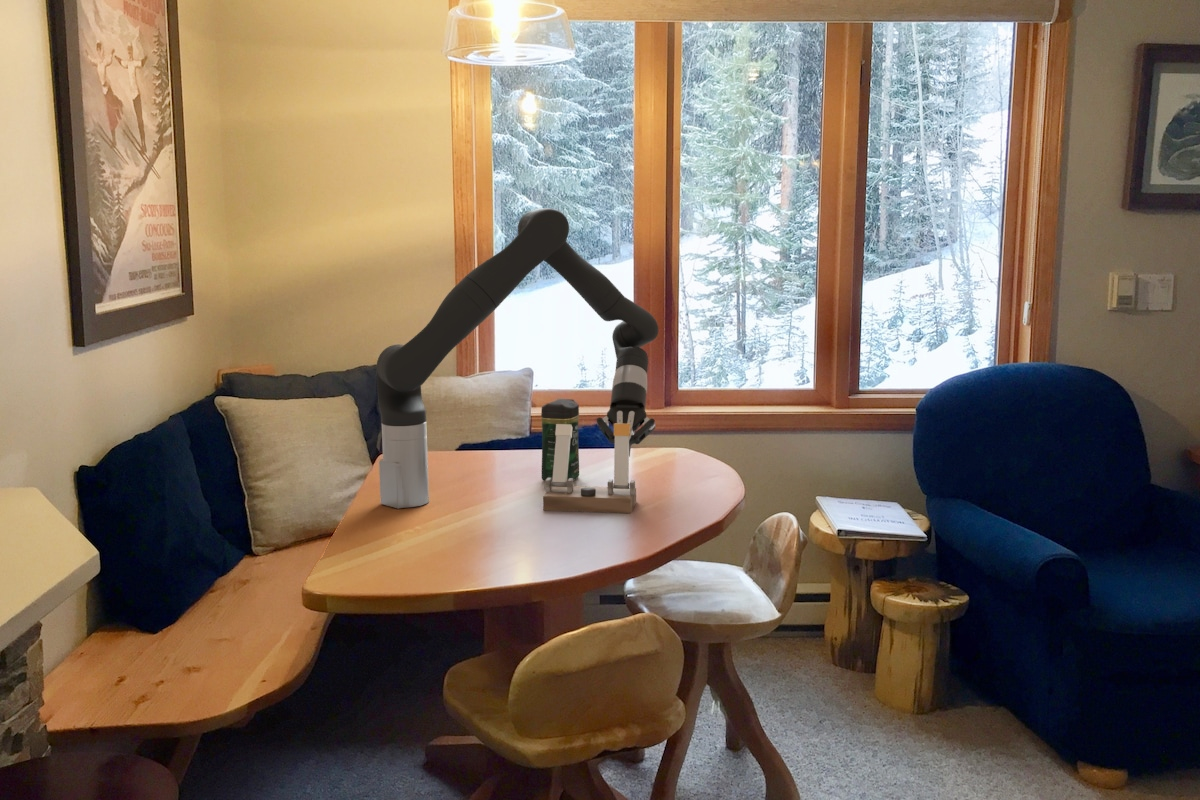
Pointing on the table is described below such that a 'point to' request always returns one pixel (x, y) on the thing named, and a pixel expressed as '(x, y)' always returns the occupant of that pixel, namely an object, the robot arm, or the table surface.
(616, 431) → the lever orange
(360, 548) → the table surface
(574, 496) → the console
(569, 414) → the coffee jar
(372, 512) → the table surface
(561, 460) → the lever ivory
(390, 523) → the table surface
